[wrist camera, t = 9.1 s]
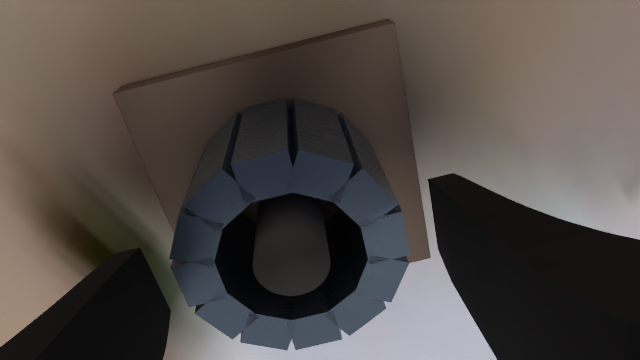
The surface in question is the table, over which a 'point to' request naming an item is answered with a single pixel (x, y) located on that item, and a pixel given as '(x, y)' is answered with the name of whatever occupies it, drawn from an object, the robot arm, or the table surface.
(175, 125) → the shaft base
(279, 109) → the collar
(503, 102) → the table surface
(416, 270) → the table surface
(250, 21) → the table surface
